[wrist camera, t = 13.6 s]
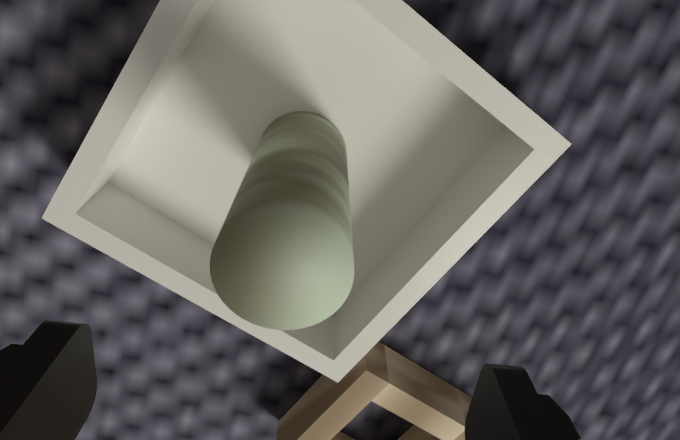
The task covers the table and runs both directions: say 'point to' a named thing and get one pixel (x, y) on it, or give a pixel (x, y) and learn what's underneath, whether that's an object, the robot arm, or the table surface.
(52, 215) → the tray
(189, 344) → the table surface
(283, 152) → the dowel
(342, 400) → the holder
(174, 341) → the table surface
